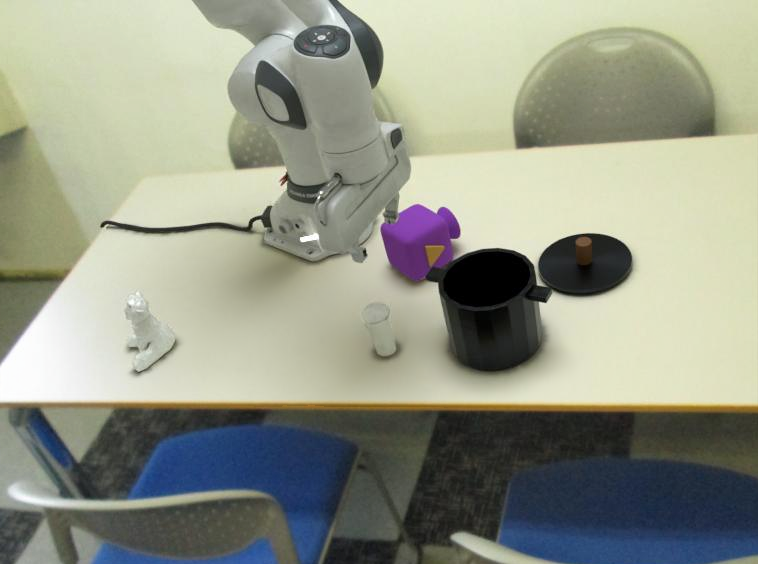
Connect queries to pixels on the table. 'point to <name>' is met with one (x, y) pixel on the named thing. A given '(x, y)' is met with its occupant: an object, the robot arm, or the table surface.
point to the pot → (491, 307)
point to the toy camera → (420, 240)
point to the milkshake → (380, 328)
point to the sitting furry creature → (146, 332)
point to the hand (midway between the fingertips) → (377, 240)
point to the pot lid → (585, 263)
